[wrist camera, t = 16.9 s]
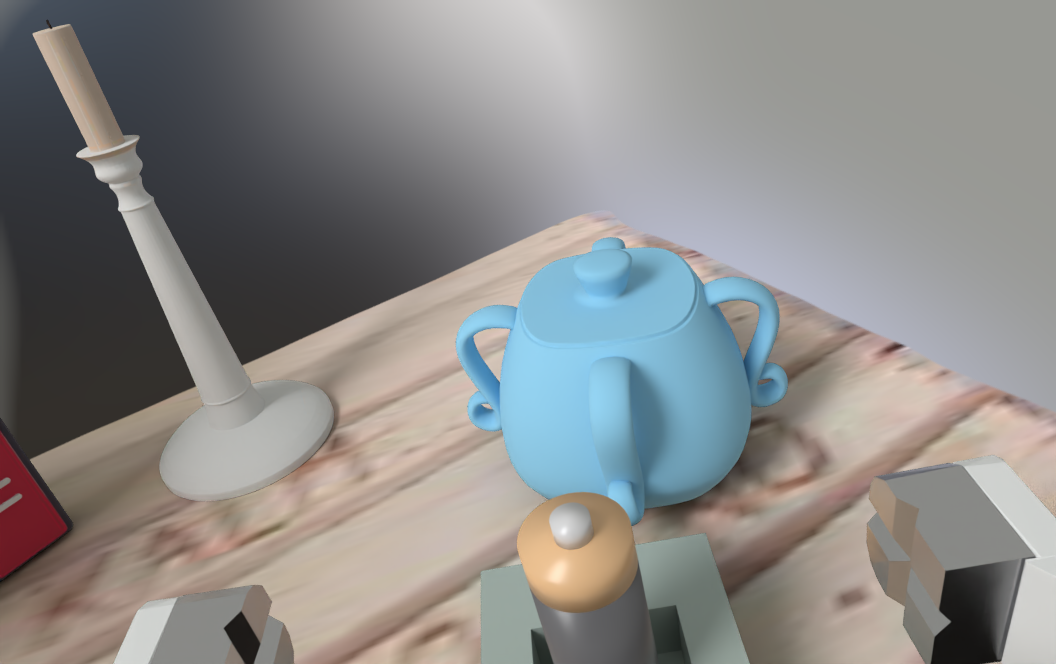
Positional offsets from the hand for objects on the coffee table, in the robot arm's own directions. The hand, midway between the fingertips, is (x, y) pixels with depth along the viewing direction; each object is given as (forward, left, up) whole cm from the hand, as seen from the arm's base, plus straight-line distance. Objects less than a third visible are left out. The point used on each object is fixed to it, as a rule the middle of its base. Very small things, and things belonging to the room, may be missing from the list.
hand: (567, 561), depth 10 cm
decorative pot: (+3, +31, -25) cm, 40 cm away
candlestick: (-24, +39, -25) cm, 52 cm away
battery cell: (0, +12, -24) cm, 27 cm away
